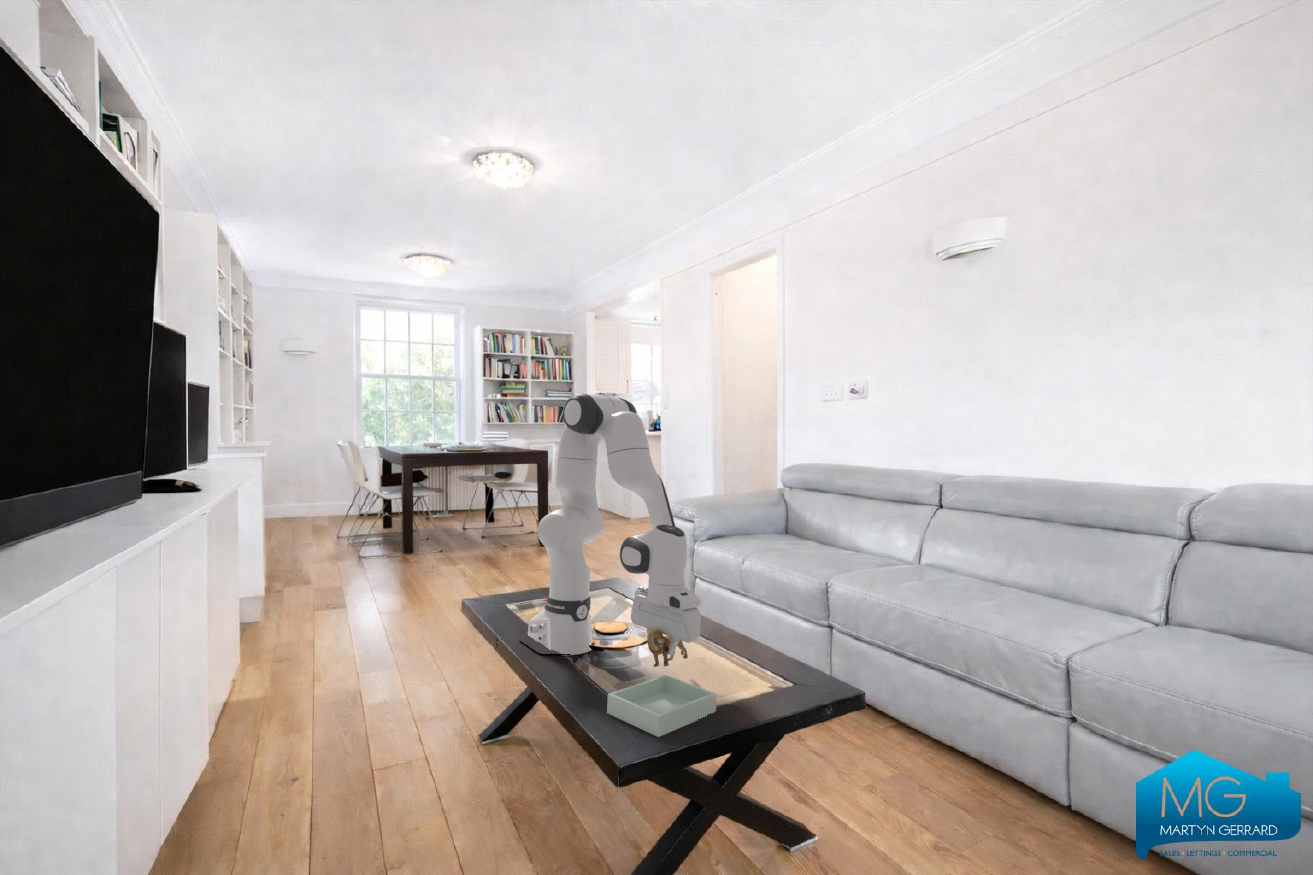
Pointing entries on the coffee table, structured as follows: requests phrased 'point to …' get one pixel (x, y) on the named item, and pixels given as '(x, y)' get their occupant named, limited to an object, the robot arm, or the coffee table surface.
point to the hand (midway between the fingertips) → (662, 650)
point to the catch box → (661, 704)
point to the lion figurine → (662, 646)
